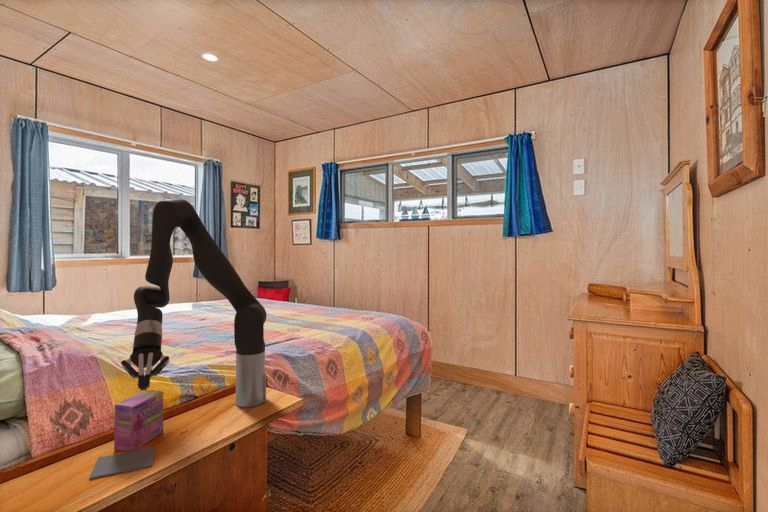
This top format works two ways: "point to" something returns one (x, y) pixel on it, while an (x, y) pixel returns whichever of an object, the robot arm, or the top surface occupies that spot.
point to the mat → (123, 462)
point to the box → (138, 420)
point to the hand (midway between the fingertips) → (143, 389)
